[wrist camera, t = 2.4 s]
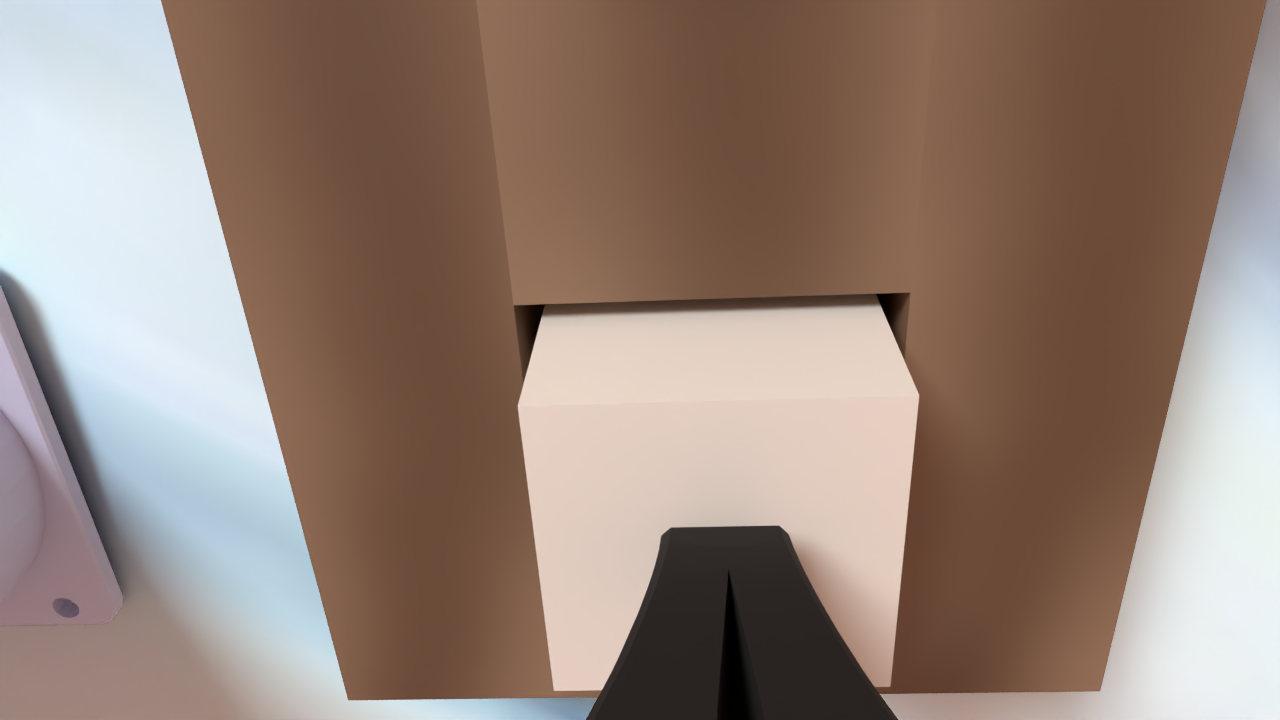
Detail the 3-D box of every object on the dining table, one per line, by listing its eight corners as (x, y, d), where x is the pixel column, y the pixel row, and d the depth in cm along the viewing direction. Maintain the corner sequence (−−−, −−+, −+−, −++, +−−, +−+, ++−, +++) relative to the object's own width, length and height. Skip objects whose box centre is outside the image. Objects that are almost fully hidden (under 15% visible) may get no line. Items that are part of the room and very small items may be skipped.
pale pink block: (573, 544, 16) (553, 691, 13) (547, 293, 14) (517, 406, 11) (853, 539, 15) (890, 686, 13) (870, 282, 13) (918, 395, 11)
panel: (406, 543, 20) (348, 700, 16) (88, -1005, 10) (-227, -1450, 7) (1020, 530, 19) (1099, 691, 15) (1301, -1128, 9) (1673, -1691, 6)
